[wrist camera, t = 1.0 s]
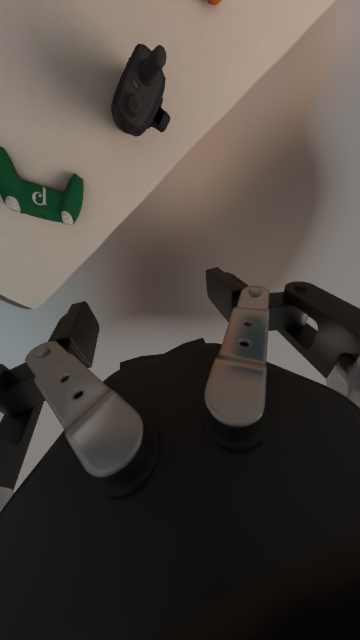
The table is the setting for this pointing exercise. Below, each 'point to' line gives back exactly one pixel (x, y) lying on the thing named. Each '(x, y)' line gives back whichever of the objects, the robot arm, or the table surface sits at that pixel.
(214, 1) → the carrot
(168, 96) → the table surface
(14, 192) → the gaming controller
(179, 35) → the table surface
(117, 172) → the table surface
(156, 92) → the two-way radio
